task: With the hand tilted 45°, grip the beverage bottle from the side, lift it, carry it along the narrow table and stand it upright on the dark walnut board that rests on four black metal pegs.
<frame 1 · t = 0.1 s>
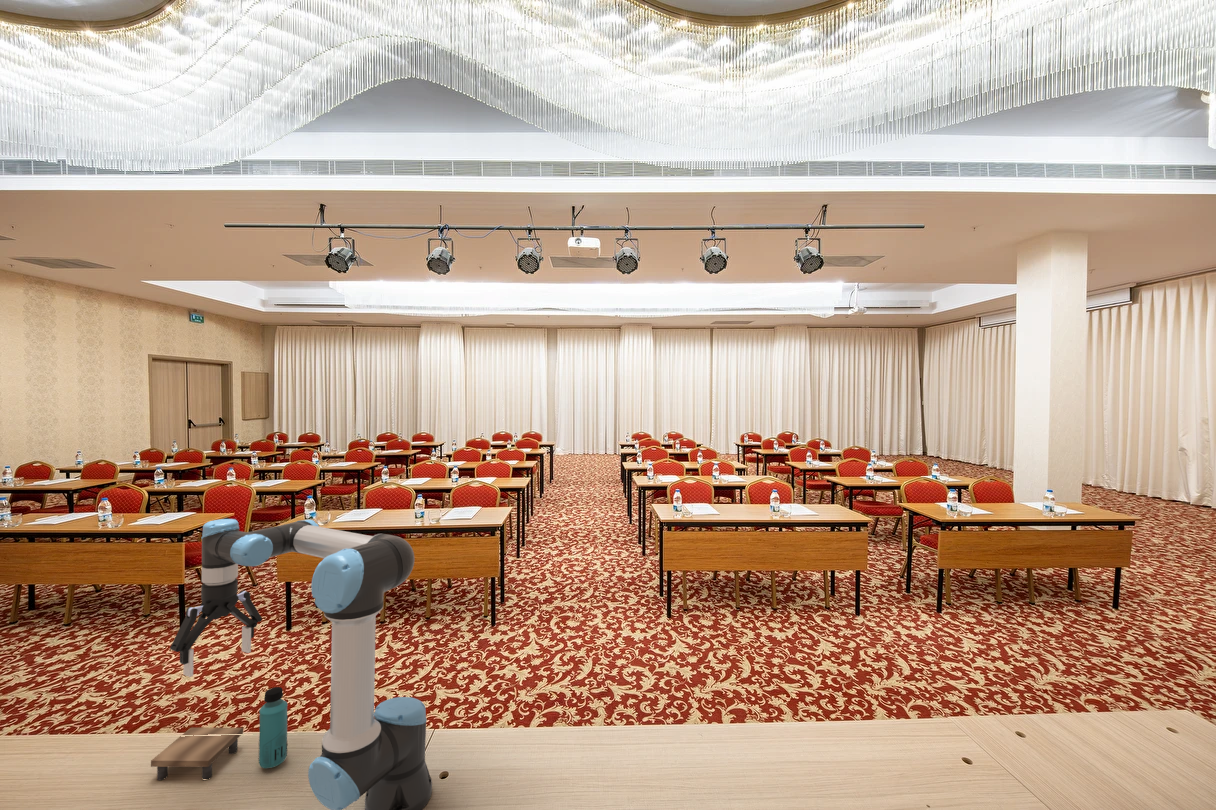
hand: (218, 663, 134), 28 cm above the table, tool pointing down, fingers open, 13 cm apart
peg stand: (199, 764, 137), on the table
beverage bottle: (272, 766, 137), on the table
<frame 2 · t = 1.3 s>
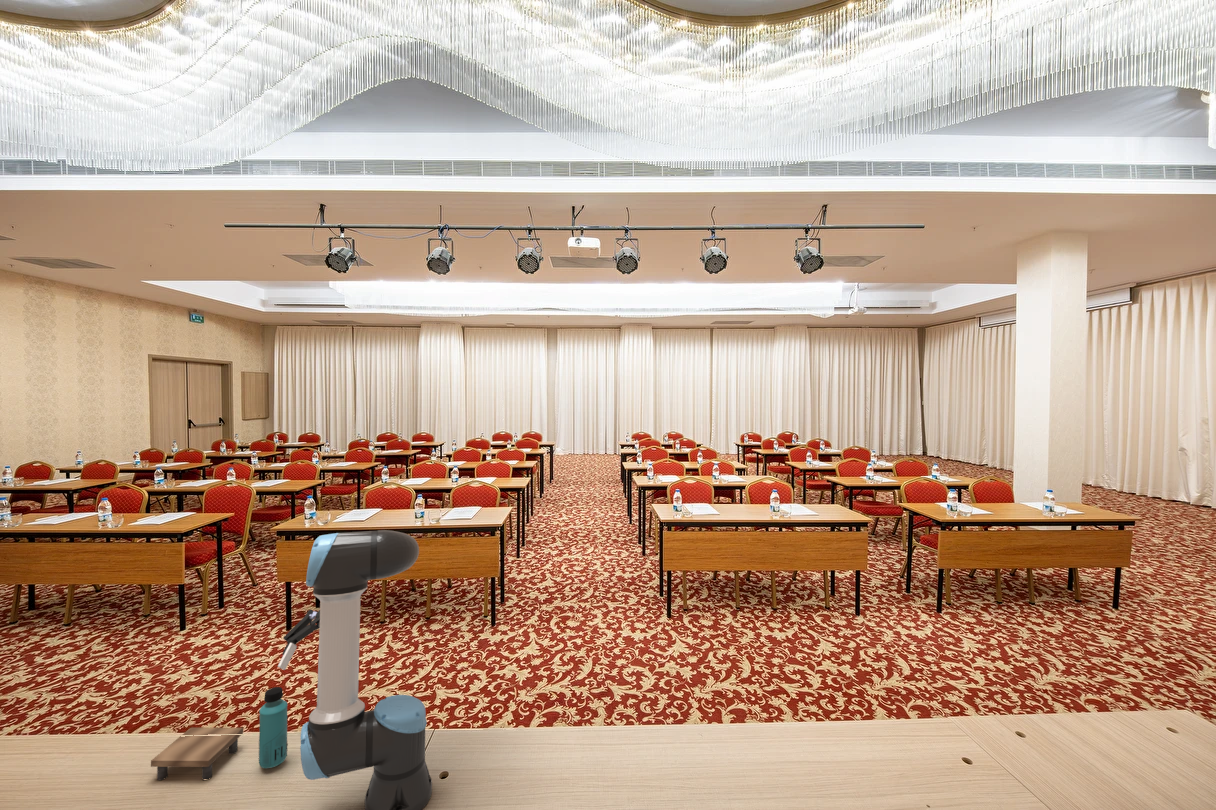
hand: (302, 670, 147), 20 cm above the table, tool tilted 45°, fingers open, 13 cm apart
nothing on the table moved.
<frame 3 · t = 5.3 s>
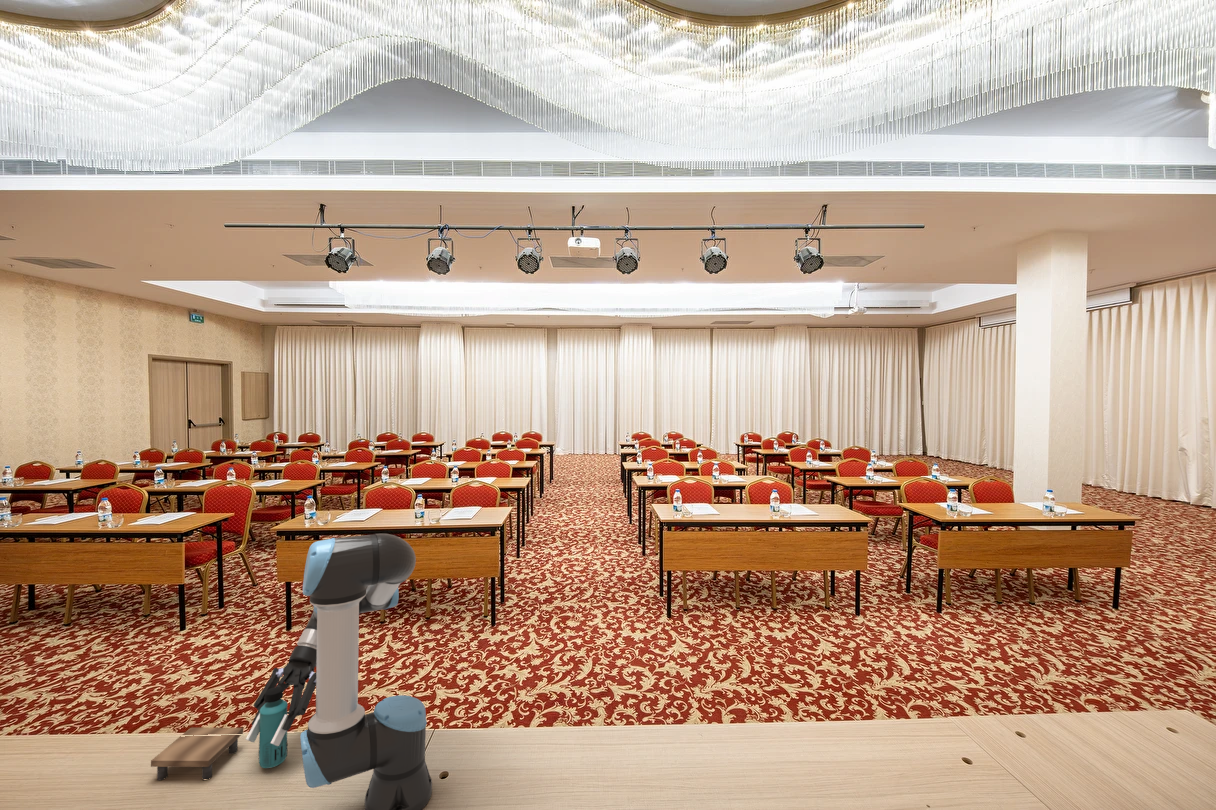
hand: (262, 742, 133), 8 cm above the table, tool tilted 45°, fingers closed on beverage bottle, 6 cm apart
beverage bottle: (272, 766, 137), on the table, touching gripper
when the fingers open (15 cm above the table, at t = 10.6 s): beverage bottle drops 1 cm, resting on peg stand.
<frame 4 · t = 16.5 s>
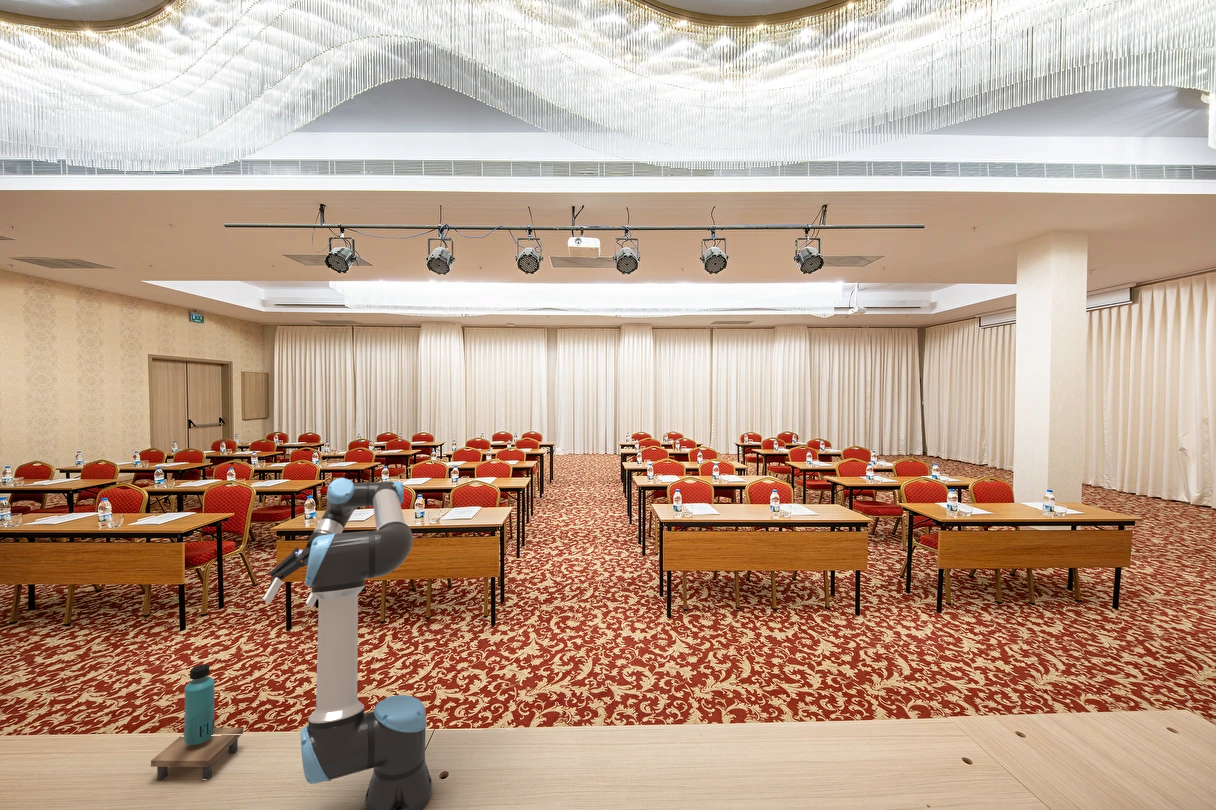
hand: (287, 603, 149), 38 cm above the table, tool tilted 45°, fingers open, 13 cm apart
beverage bottle: (199, 743, 137), point 5 cm above the table, touching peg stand
at the end: beverage bottle inside the target area on the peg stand (0.1 cm from its centre), point 5.3 cm above the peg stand's base; beverage bottle tilted 0°; the gripper is holding nothing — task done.
